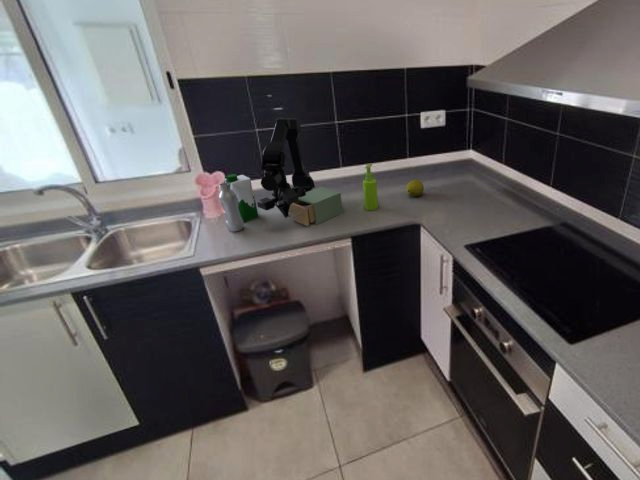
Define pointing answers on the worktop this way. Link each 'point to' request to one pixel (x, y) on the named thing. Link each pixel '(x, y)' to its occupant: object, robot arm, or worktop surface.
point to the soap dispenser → (370, 190)
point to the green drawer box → (324, 203)
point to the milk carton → (243, 196)
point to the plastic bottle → (230, 207)
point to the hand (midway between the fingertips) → (286, 217)
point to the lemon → (415, 188)
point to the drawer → (301, 212)
